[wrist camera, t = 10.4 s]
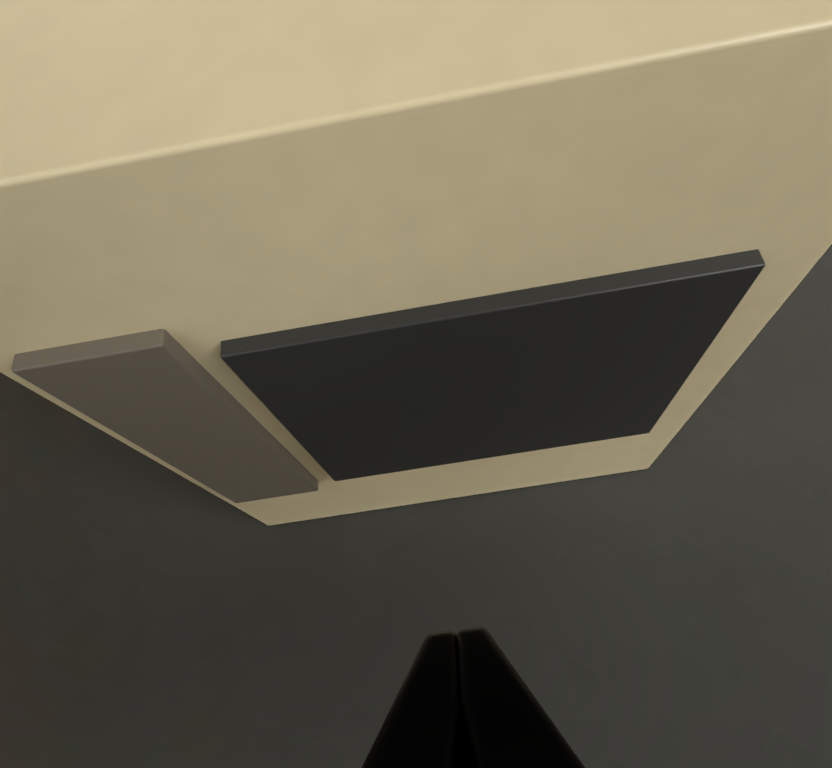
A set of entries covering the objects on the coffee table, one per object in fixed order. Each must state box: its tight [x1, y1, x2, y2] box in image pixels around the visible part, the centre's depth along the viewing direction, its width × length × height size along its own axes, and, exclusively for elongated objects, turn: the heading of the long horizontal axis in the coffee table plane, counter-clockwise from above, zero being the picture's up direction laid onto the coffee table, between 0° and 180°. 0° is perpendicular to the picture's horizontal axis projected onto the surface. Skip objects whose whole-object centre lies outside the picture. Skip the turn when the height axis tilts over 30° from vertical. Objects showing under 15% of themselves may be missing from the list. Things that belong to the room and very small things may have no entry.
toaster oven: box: [0, 0, 832, 526], centre depth 13 cm, size 12×11×13 cm
